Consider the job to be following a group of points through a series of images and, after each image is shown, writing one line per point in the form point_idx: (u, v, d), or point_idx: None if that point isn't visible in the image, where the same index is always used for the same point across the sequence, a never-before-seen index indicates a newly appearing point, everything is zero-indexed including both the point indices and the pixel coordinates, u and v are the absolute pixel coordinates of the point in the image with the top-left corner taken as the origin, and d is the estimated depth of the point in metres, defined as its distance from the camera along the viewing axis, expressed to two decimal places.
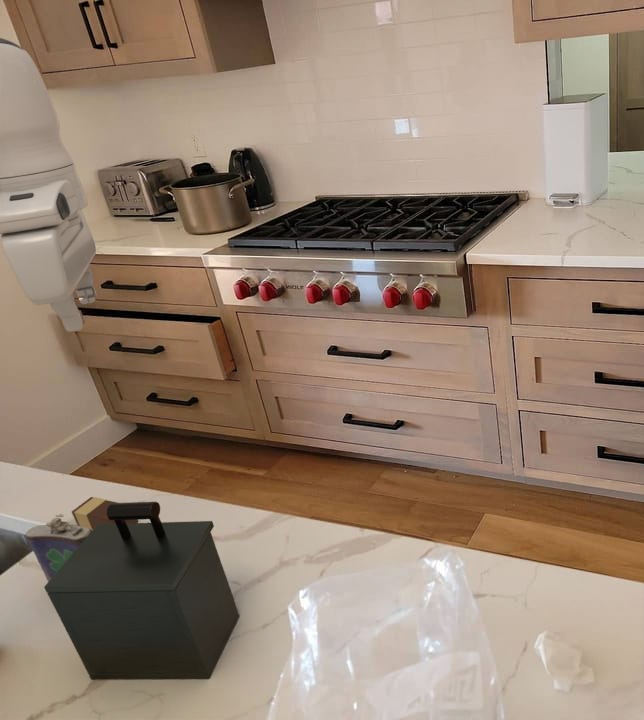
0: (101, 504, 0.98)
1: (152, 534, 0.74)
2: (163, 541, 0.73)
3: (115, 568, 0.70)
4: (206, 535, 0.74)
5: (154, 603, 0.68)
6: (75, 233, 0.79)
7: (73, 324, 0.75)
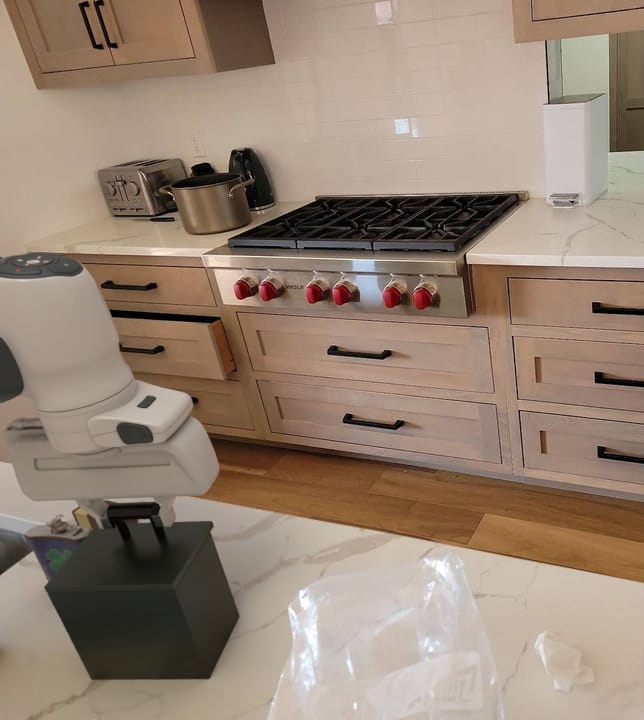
0: None
1: (152, 534, 0.74)
2: (163, 541, 0.73)
3: (115, 568, 0.70)
4: (206, 535, 0.74)
5: (154, 603, 0.68)
6: None
7: (171, 517, 0.72)
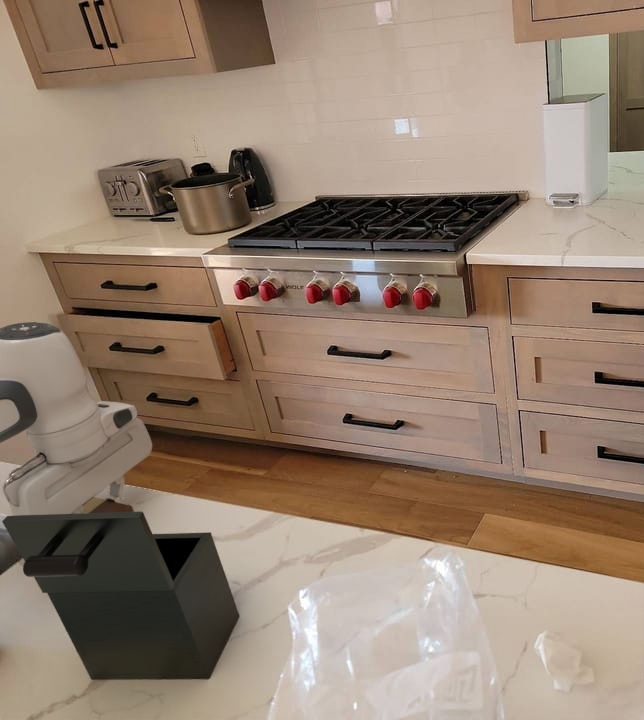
0: (101, 504, 0.98)
1: (85, 535, 0.64)
2: (109, 544, 0.64)
3: (91, 574, 0.66)
4: (147, 528, 0.63)
5: (154, 603, 0.68)
6: None
7: None
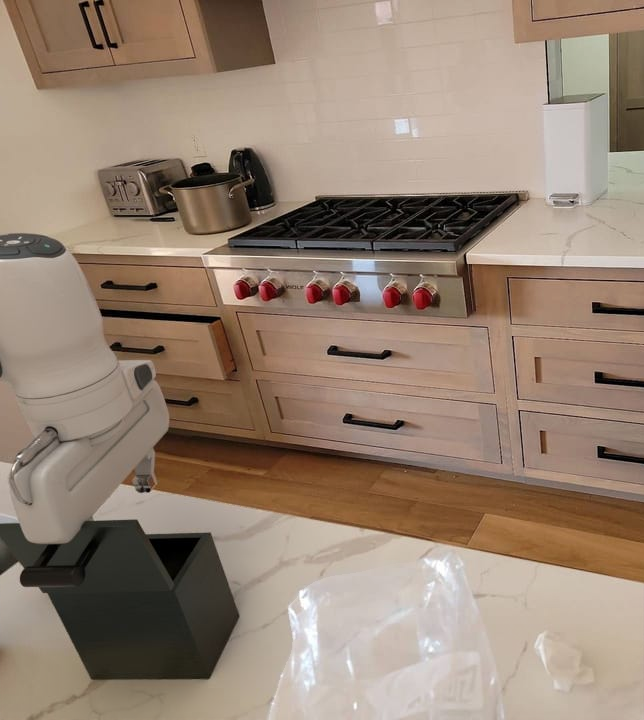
0: None
1: (80, 542, 0.63)
2: (105, 550, 0.63)
3: (90, 576, 0.66)
4: (143, 535, 0.63)
5: (154, 603, 0.68)
6: None
7: None
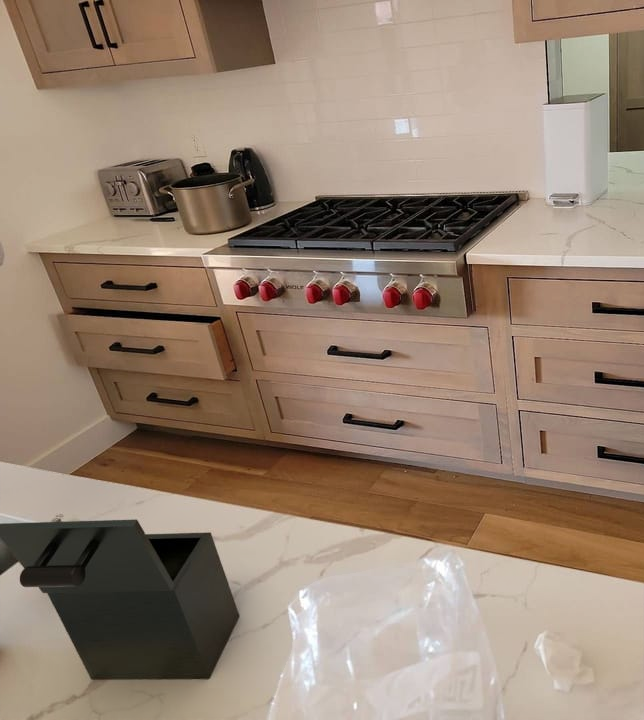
0: None
1: (80, 542, 0.63)
2: (105, 550, 0.63)
3: (90, 576, 0.66)
4: (143, 535, 0.63)
5: (154, 603, 0.68)
6: None
7: None
